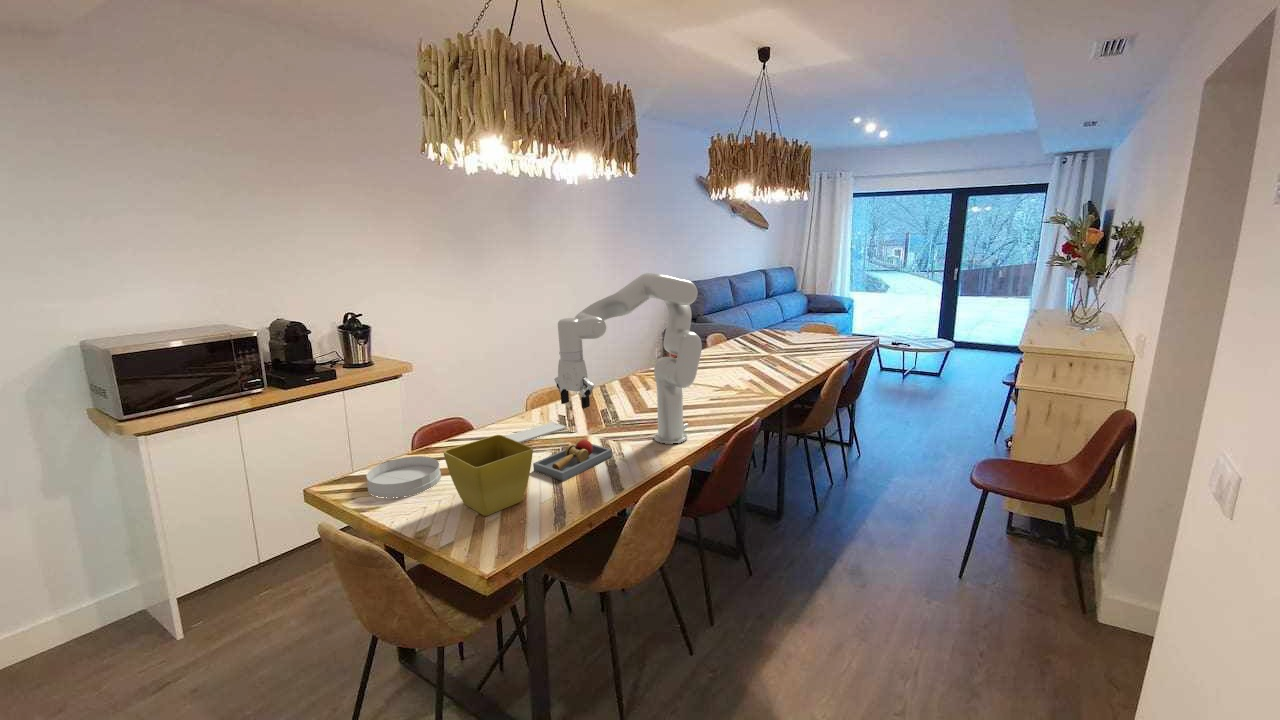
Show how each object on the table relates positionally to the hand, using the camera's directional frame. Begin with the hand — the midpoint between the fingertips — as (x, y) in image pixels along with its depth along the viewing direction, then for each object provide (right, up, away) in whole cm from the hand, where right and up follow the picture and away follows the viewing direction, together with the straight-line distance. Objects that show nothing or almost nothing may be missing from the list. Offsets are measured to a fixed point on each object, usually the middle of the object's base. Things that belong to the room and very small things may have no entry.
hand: (575, 405), depth 188 cm
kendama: (-1, -20, +3) cm, 20 cm away
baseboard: (-23, -15, +33) cm, 43 cm away
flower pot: (-22, -27, -22) cm, 41 cm away
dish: (-54, -25, -7) cm, 60 cm away
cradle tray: (-1, -20, +4) cm, 21 cm away
